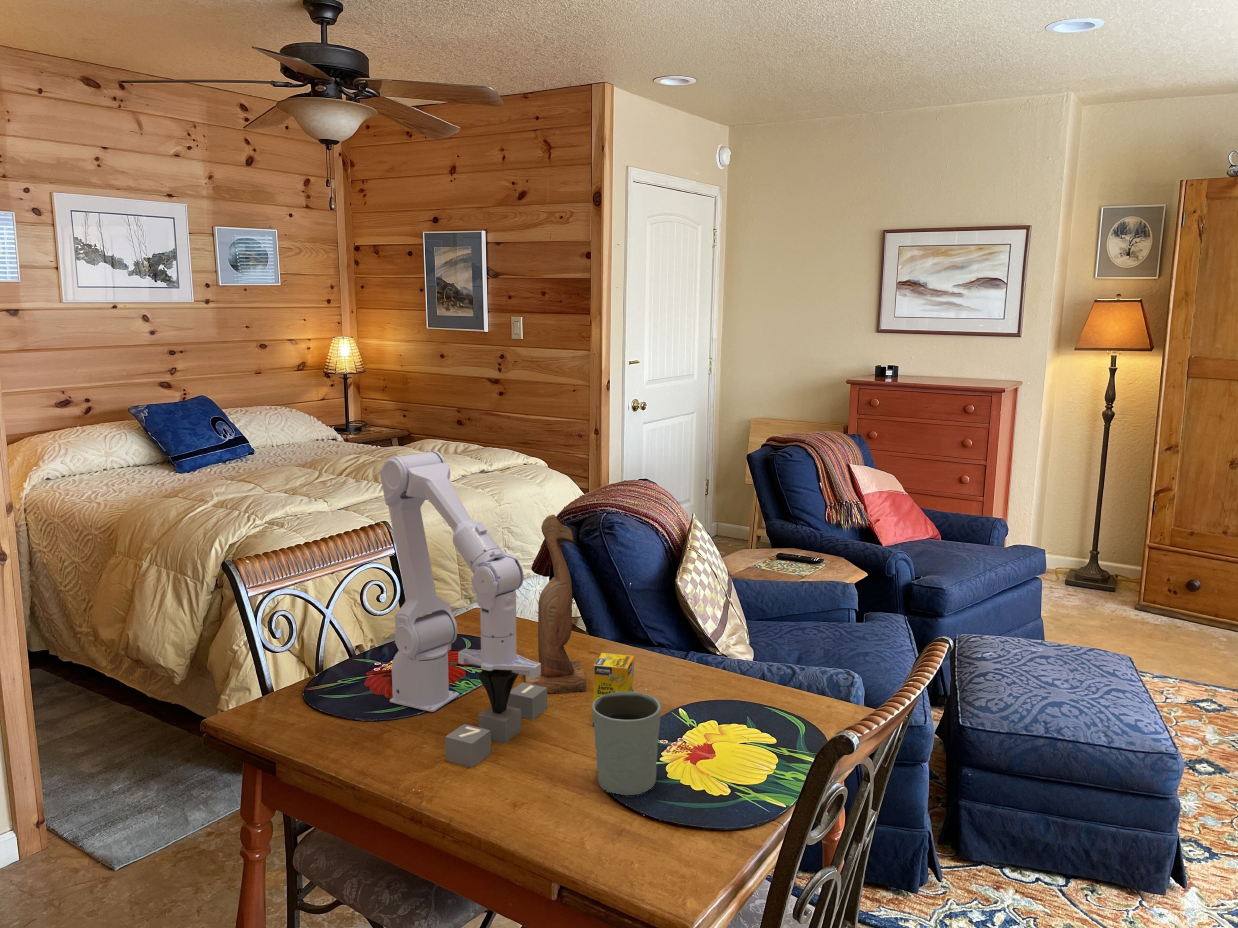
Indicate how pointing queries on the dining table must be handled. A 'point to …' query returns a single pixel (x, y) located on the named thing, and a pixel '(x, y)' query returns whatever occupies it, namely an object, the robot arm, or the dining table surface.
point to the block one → (528, 700)
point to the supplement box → (612, 674)
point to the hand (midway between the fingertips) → (499, 710)
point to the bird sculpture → (556, 619)
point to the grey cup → (626, 741)
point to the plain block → (501, 723)
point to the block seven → (468, 745)
